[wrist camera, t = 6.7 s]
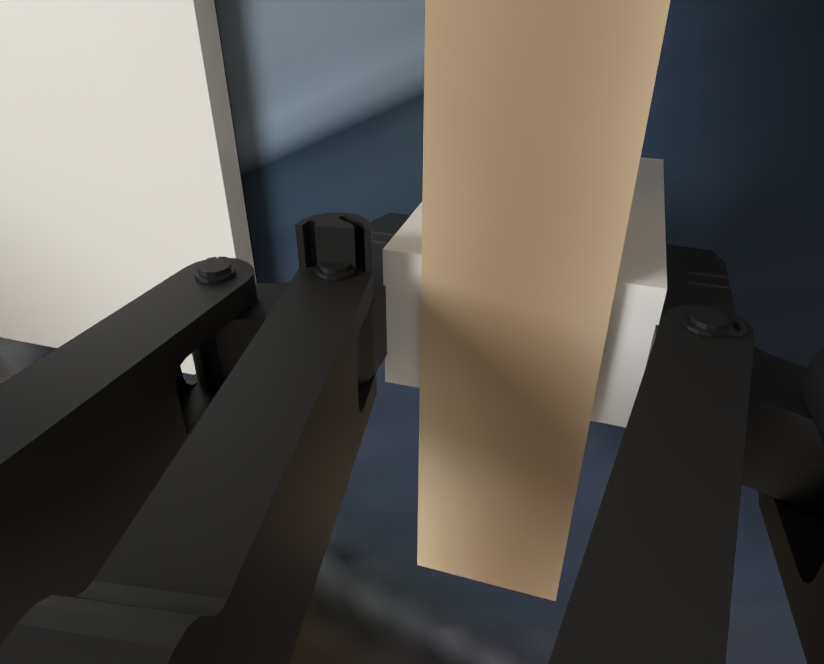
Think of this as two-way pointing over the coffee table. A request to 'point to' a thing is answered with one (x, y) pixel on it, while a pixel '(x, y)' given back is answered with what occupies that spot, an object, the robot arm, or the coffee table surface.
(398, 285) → the robot arm
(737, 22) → the coffee table surface
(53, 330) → the rest board
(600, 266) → the beige piece
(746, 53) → the coffee table surface
